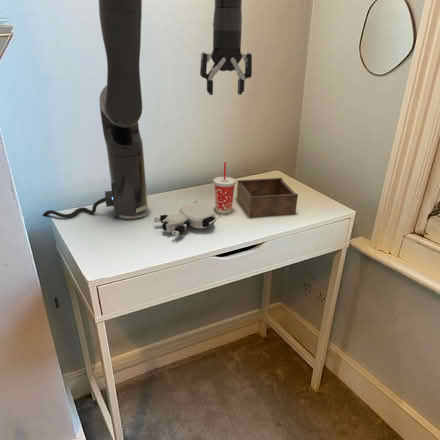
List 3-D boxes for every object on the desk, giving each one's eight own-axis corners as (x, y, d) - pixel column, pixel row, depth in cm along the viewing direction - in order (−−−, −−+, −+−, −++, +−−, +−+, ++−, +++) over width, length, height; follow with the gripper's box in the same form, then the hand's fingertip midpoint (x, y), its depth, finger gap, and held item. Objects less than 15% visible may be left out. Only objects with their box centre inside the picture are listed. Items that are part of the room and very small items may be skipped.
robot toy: (176, 246, 109) (224, 228, 115) (174, 230, 106) (223, 212, 113) (152, 228, 117) (198, 211, 124) (150, 213, 114) (197, 197, 121)
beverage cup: (210, 207, 127) (211, 159, 119) (230, 205, 129) (232, 158, 121) (216, 215, 122) (217, 166, 114) (237, 213, 124) (239, 165, 116)
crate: (249, 217, 122) (250, 198, 119) (236, 198, 133) (237, 180, 130) (295, 214, 125) (298, 194, 121) (279, 195, 136) (281, 177, 132)
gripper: (203, 28, 110) (203, 97, 120) (257, 29, 113) (253, 96, 123) (198, 26, 116) (198, 92, 126) (249, 27, 119) (245, 91, 129)
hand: (225, 94), depth 124 cm, fingers open, 8 cm apart
